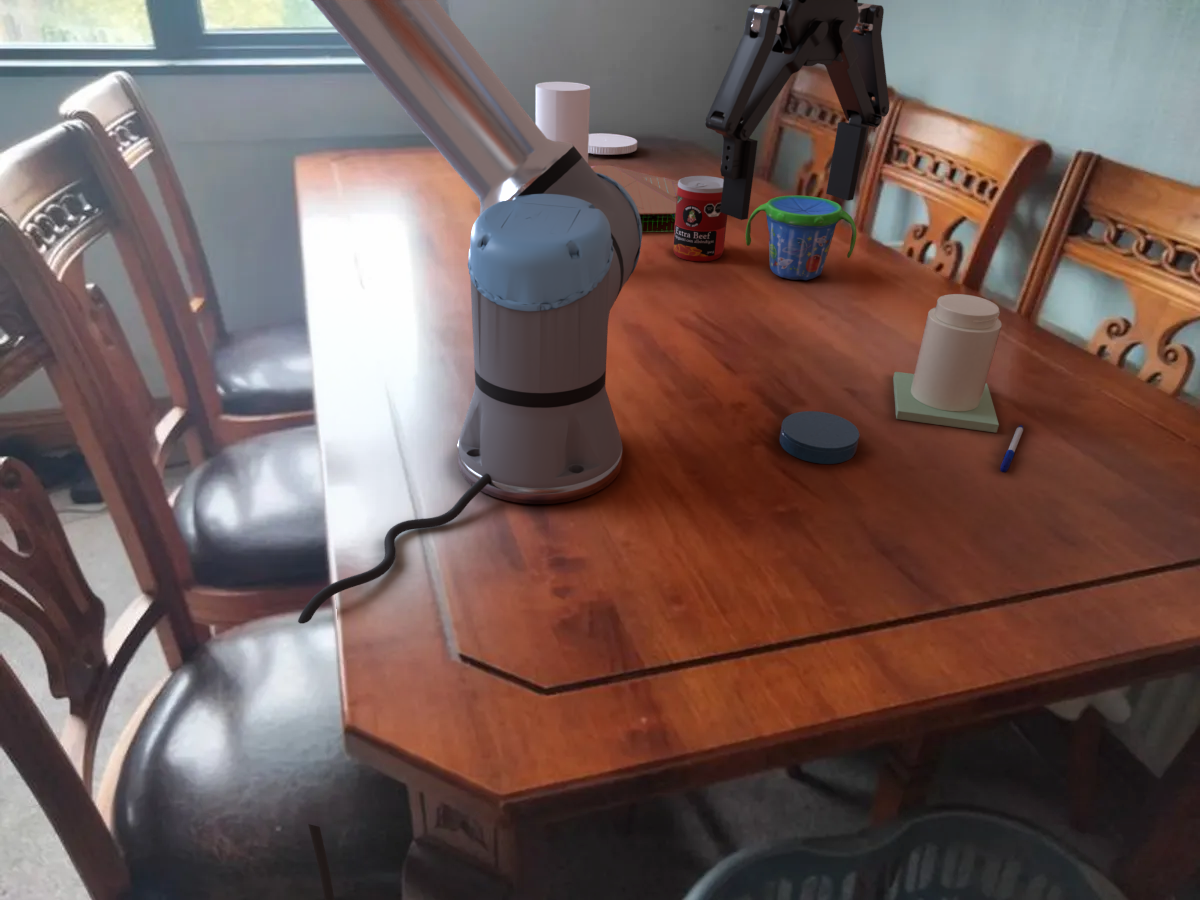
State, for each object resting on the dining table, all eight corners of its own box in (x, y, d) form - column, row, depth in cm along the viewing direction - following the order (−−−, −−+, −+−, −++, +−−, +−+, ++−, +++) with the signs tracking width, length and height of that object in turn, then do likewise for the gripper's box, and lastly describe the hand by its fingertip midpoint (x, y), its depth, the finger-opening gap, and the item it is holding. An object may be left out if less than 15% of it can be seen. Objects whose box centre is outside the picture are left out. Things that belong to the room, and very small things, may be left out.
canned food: (664, 256, 138) (669, 183, 133) (685, 243, 144) (690, 172, 139) (711, 265, 135) (718, 191, 130) (730, 251, 141) (738, 180, 136)
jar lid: (815, 419, 94) (818, 404, 93) (872, 450, 89) (876, 434, 88) (763, 438, 90) (765, 423, 89) (819, 472, 85) (822, 455, 84)
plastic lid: (608, 142, 207) (609, 131, 206) (649, 154, 198) (650, 142, 197) (559, 149, 199) (560, 137, 198) (600, 162, 190) (600, 150, 189)
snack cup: (733, 275, 132) (741, 205, 127) (752, 254, 140) (760, 188, 135) (840, 294, 127) (853, 221, 122) (854, 271, 135) (867, 203, 130)
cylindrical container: (578, 280, 128) (583, 92, 115) (529, 275, 129) (529, 88, 116) (589, 264, 134) (595, 83, 121) (542, 259, 135) (543, 80, 122)
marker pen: (1008, 475, 86) (1011, 466, 86) (998, 473, 87) (1001, 464, 86) (1023, 430, 94) (1025, 421, 94) (1014, 428, 95) (1016, 419, 94)
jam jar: (983, 416, 94) (1010, 321, 89) (911, 406, 95) (933, 312, 90) (976, 386, 100) (1000, 296, 95) (908, 377, 101) (929, 288, 96)
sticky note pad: (996, 433, 93) (999, 424, 93) (896, 419, 95) (897, 410, 94) (985, 391, 101) (987, 383, 101) (892, 379, 103) (894, 371, 103)
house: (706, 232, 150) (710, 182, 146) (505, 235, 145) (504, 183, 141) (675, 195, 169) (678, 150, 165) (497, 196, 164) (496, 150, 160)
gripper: (893, -61, 81) (849, 180, 91) (677, -71, 68) (655, 212, 78) (965, -57, 75) (910, 199, 86) (747, -66, 62) (713, 236, 73)
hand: (788, 206), depth 82 cm, fingers open, 13 cm apart
